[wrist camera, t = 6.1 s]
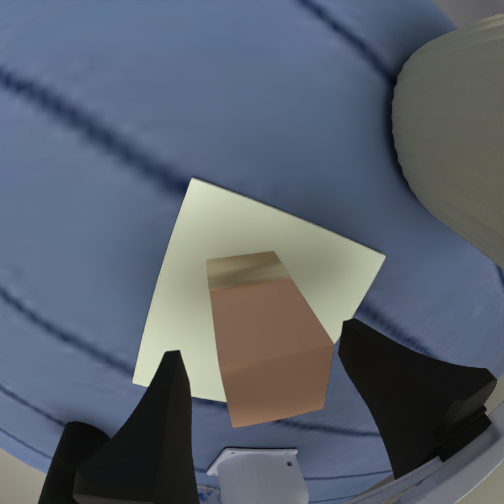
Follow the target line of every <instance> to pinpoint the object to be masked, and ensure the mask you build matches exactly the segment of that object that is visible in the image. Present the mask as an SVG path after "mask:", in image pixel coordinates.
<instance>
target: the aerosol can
mask: <svg viewBox="0 0 504 504" xmlns="http://www.w3.org/2000/svg"><path fill="white" fill-rule="evenodd" d="M197 490H198V495H199V500H200V504H220V500H219V494H220V493H219V490H218V489H216V488H214V487H210V486H203V485H197Z"/></svg>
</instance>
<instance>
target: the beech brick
mask: <svg viewBox="0 0 504 504" xmlns="http://www.w3.org/2000/svg"><path fill="white" fill-rule="evenodd" d="M206 266H207V277H208V288H209V294H210V291H216V290H223V289H230V288H237V287H244V286H250V285H257V284H263V283H270V282H276V281H282V280H288V279H291V276H290V274H289V273H288V271H287V270H286V268H285V267H284V265H283V264H282V262H281V261H280V259H279V258H278V256H277V255H276V253H275V252H274V251H268V252H260V253H253V254H246V255H238V256H231V257H223V258H216V259H209V260H206ZM210 300H211V299H210Z"/></svg>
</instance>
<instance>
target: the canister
mask: <svg viewBox="0 0 504 504" xmlns="http://www.w3.org/2000/svg"><path fill="white" fill-rule="evenodd" d="M391 119H392V124H393V130H392V134H393V136H394V143H395V144H394V147H395V149H396V151H397V155H398V162H399V164H400V165H401V167H402V171H403V175H404V177H405V178H406V180H407V181H408V184H409V187H410V189H411V190H412V192H413V193H414V194H415V195H416V197H417V199H418V200H419V202H420V203H421V204H422V205H423V206H424V207H425V208H426V209H427V210H428V211H429V212H430V213H431V214H432V215H433V216H434V217H435V218H436V219H438V220H439V221H440V222H442V223H443V224H444V225H446V226H447V227H449V228H450V229H451V230H453V231H454V232H456V233H457V234H458V235H460V236H461V237H462V238H464V239H465V240H466V241H468V242H469V243H470V244H472V245H473V246H474V247H475V248H477V249H478V250H479V251H481V252H482V253H483V254H484V255H486V256H487V257H488V258H489V259H491V260H492V261H493V262H495V263H496V264H497V265H498V266H499V267H501V268H502V269H503V270H504V13H502V14H498V15H495V16H492V17H488V18H485V19H482V20H479V21H476V22H473V23H471V24H468V25H465V26H463V27H460V28H458V29H456V30H453V31H451V32H449V33H446V34H444V35H442V36H440V37H437V38H435V39H433V40H431V41H429V42H427V43H426V44H424V45H423V46H422V47H421V48H419V49H417V50H416V51H415V52H414V53H413V54H412V55H411V56H410V58H409V59H408V60H407V61H406V62H405V63H404V65H403V67H402V71H401V72H400V73H399V75H398V77H397V84H396V86H395V87H394V98H393V100H392V115H391Z"/></svg>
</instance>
